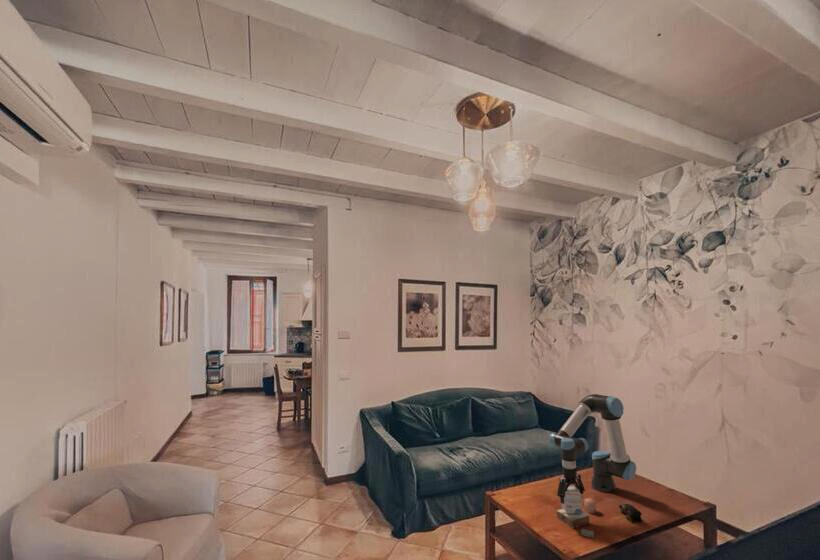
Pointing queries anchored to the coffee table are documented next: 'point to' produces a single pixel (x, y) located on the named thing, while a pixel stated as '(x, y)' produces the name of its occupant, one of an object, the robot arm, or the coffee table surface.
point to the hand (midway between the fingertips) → (572, 506)
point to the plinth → (573, 518)
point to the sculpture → (630, 512)
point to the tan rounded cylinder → (590, 505)
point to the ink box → (573, 500)
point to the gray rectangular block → (587, 533)
